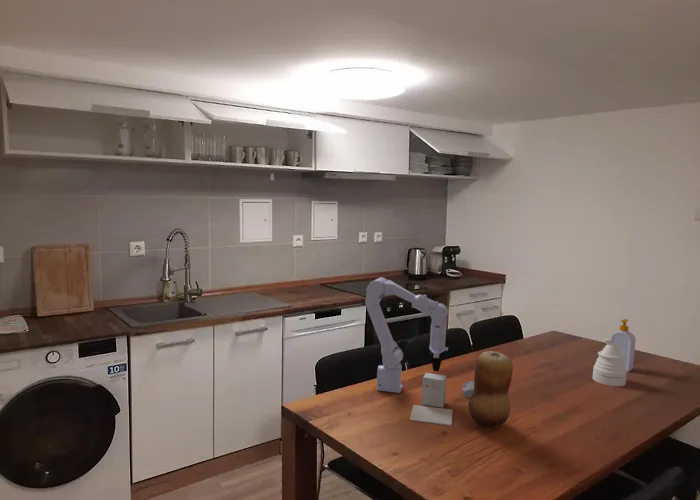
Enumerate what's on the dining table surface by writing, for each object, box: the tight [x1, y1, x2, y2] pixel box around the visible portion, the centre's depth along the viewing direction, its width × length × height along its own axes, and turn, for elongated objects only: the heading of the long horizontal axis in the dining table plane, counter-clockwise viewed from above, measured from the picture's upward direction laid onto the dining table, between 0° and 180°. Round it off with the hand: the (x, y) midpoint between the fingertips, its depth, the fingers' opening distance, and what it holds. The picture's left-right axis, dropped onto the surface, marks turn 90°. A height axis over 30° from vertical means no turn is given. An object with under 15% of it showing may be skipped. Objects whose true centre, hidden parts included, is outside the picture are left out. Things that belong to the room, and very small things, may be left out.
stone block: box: [461, 380, 474, 399], centre depth 202 cm, size 12×5×10 cm
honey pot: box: [592, 338, 628, 387], centre depth 221 cm, size 13×13×18 cm
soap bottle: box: [609, 318, 636, 373], centre depth 238 cm, size 9×7×23 cm
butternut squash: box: [467, 350, 514, 428], centre depth 172 cm, size 14×13×25 cm
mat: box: [409, 404, 453, 427], centre depth 180 cm, size 14×12×1 cm
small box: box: [421, 372, 447, 409], centre depth 190 cm, size 8×6×10 cm
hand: (436, 370), depth 197 cm, fingers closed
